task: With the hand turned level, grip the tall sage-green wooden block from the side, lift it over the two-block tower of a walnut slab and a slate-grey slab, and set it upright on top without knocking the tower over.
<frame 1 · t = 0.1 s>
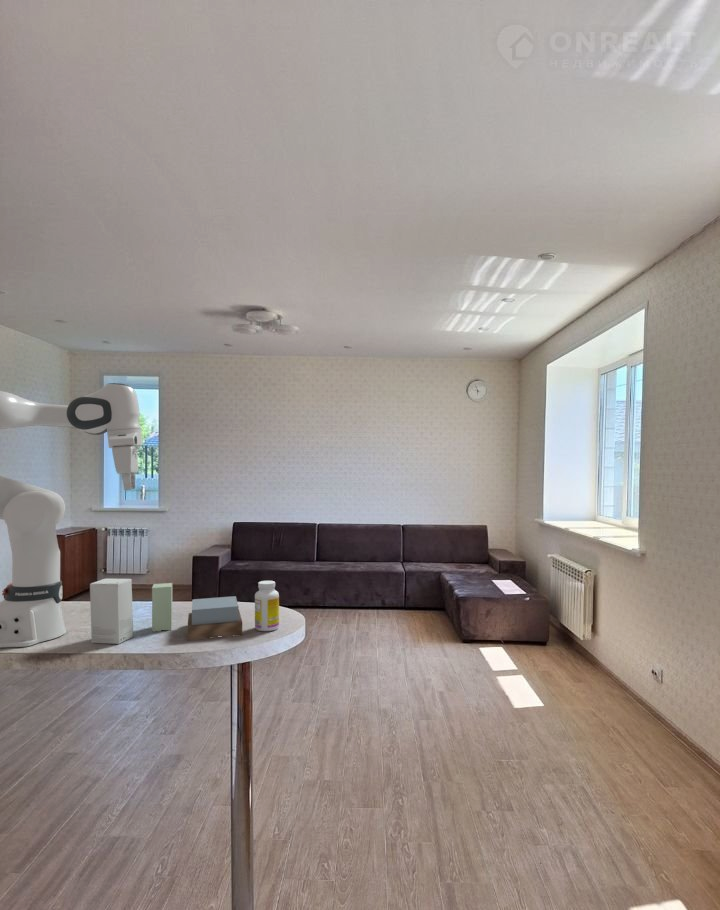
hand: (130, 489, 151), 39 cm above the table, tool pointing down, fingers open, 8 cm apart
skincare box: (111, 641, 140), on the table
tower bottom block: (214, 632, 148), on the table, touching tower top block
supplement bottle: (267, 629, 149), on the table
tower top block: (214, 617, 148), point 3 cm above the table, touching tower bottom block
sage block: (162, 628, 150), on the table
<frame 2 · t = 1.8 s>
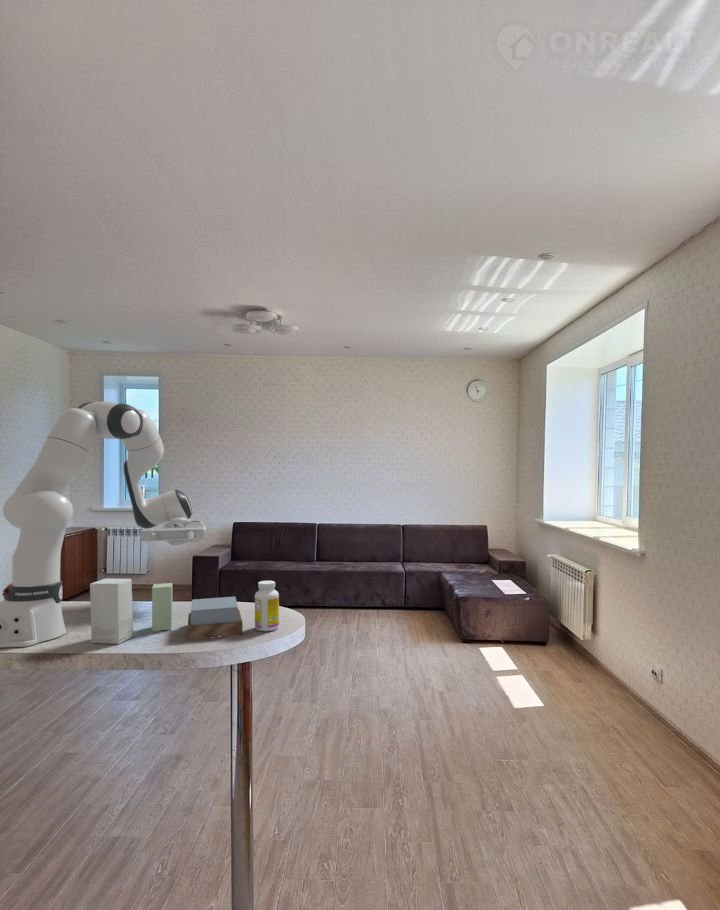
hand: (170, 537, 166), 23 cm above the table, tool horizontal, fingers open, 8 cm apart
nothing on the table moved.
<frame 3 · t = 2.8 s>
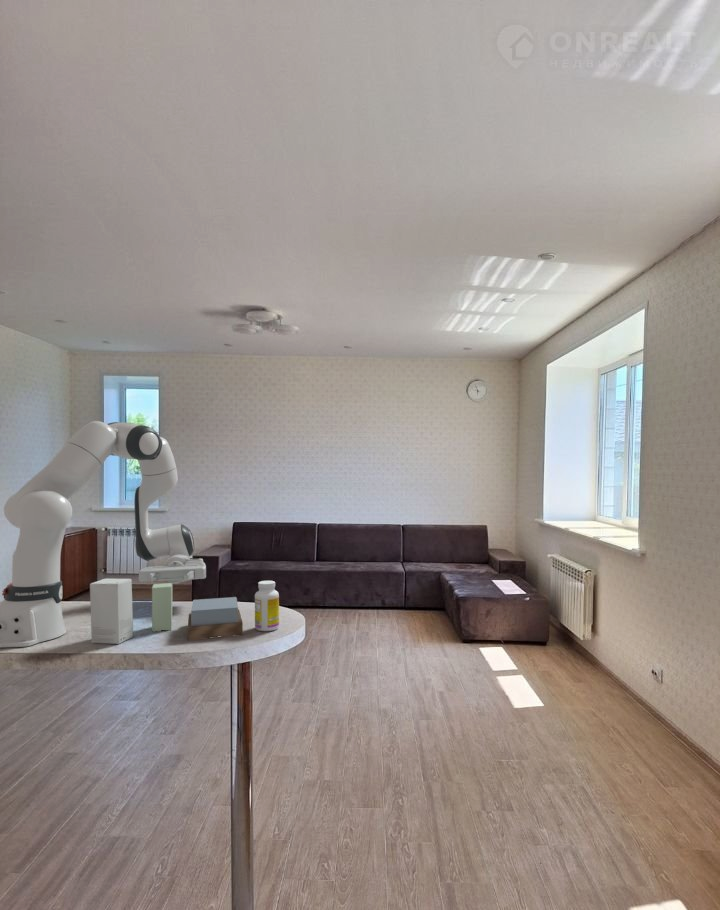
hand: (170, 578, 163), 11 cm above the table, tool horizontal, fingers open, 8 cm apart
nothing on the table moved.
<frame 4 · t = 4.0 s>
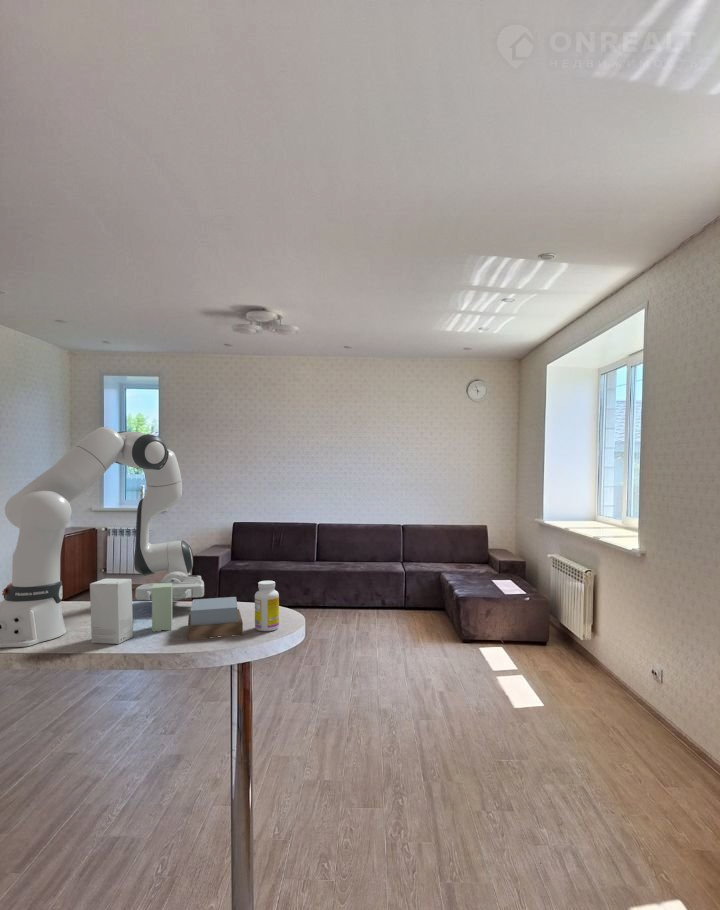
hand: (167, 596, 160), 6 cm above the table, tool horizontal, fingers open, 8 cm apart
nothing on the table moved.
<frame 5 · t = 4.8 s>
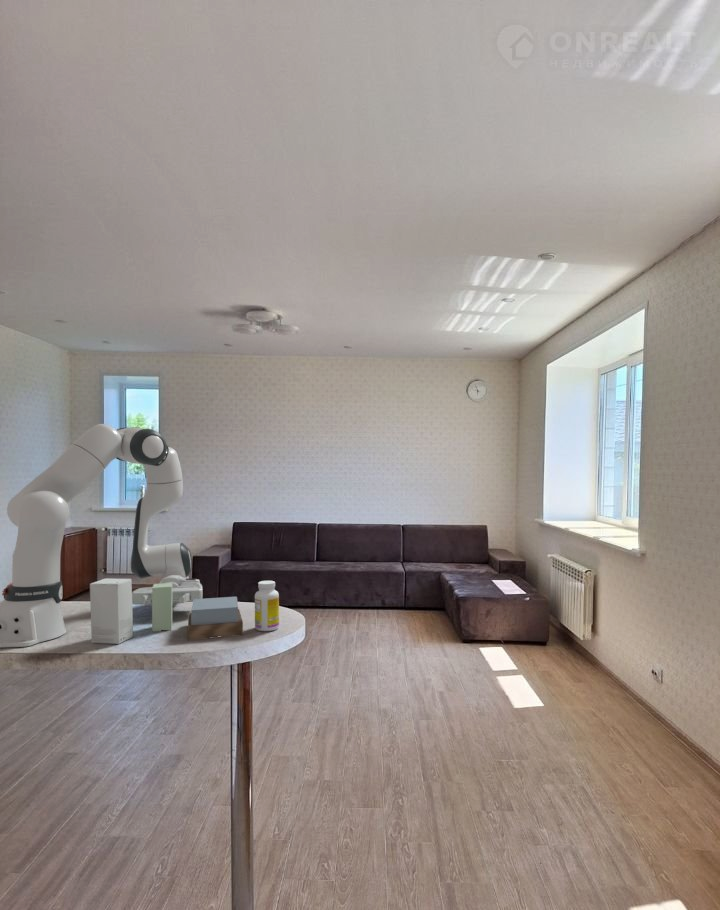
hand: (164, 601, 154), 6 cm above the table, tool horizontal, fingers open, 8 cm apart
nothing on the table moved.
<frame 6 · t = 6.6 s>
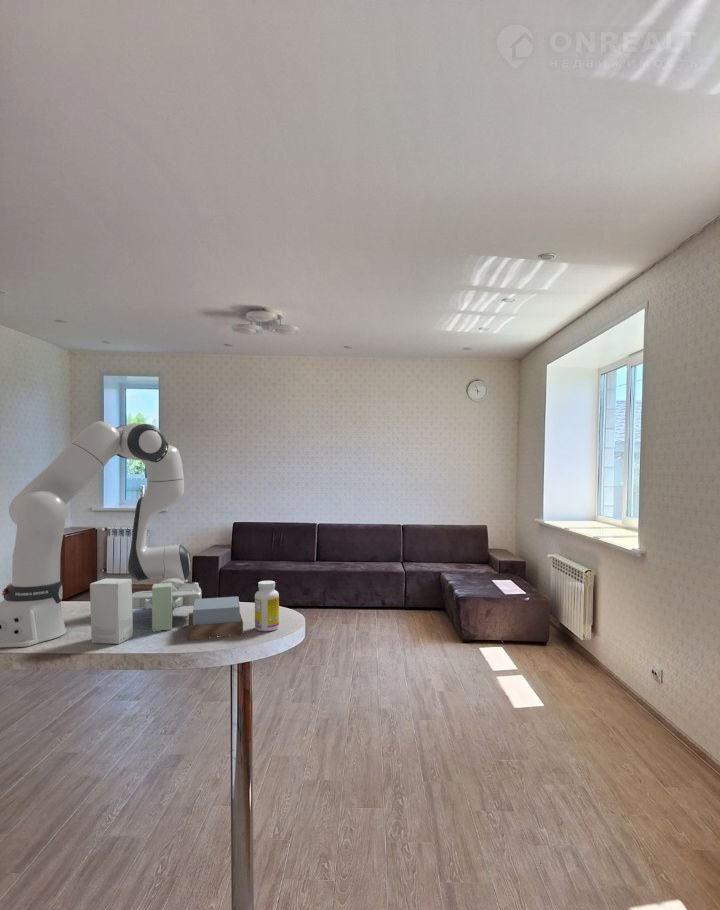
hand: (161, 605, 149), 7 cm above the table, tool horizontal, fingers closed on sage block, 5 cm apart
tower bottom block: (214, 631, 148), on the table
tower top block: (216, 617, 148), point 3 cm above the table
sage block: (162, 628, 150), on the table, touching gripper
everything else where it was.
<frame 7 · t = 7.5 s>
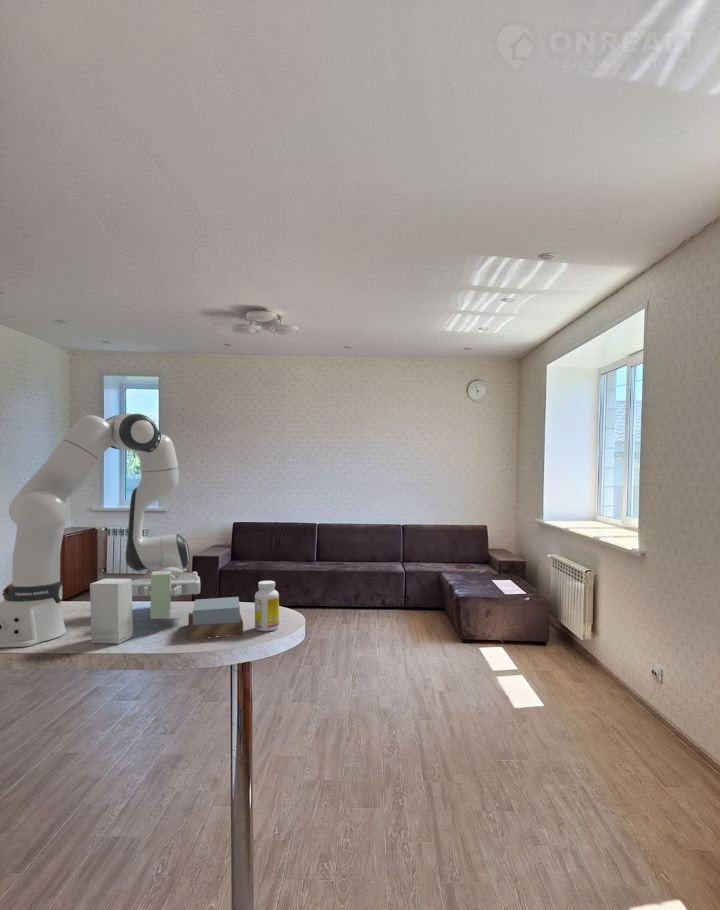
hand: (160, 593, 149), 10 cm above the table, tool horizontal, fingers closed on sage block, 5 cm apart
sage block: (160, 616, 149), point 4 cm above the table, touching gripper
everything else where it was.
when the fingers open (15 cm above the table, at t = 11.7 s): sage block drops 1 cm, resting on tower top block.
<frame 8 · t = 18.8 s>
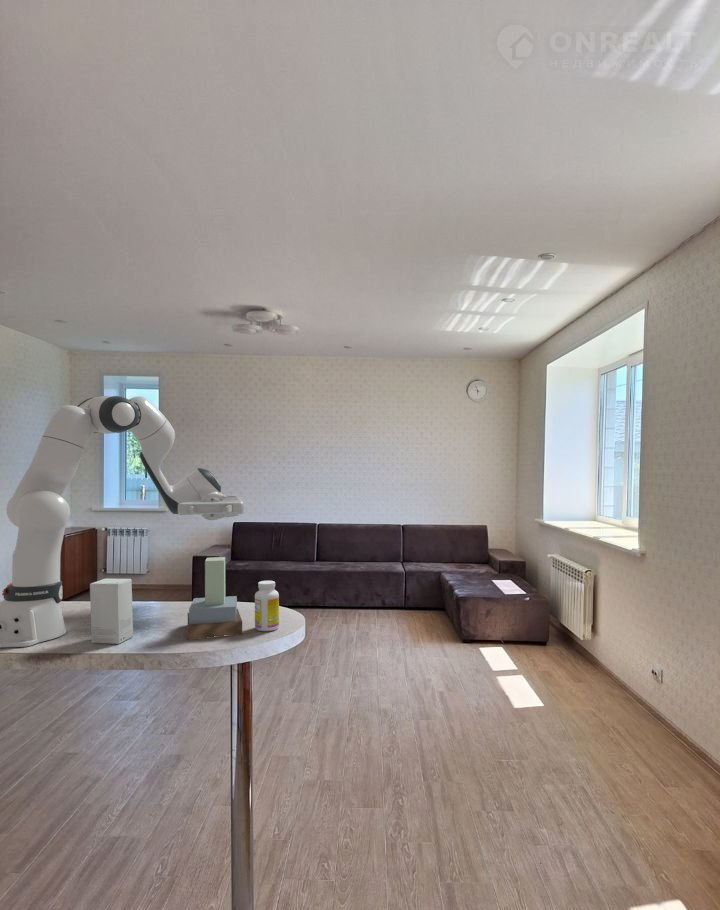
hand: (209, 509, 164), 32 cm above the table, tool horizontal, fingers open, 8 cm apart
tower bottom block: (214, 631, 148), on the table, touching tower top block
tower top block: (214, 616, 149), point 3 cm above the table, touching sage block, tower bottom block
sage block: (215, 602, 149), point 7 cm above the table, touching tower top block
everything else where it was.
at the end: sage block 0.4 cm off-centre on the tower top block, point 4.0 cm above the tower top block's base; tower top block 0.3 cm off-centre on the tower bottom block, point 4.0 cm above the tower bottom block's base; sage block tilted 1° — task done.
